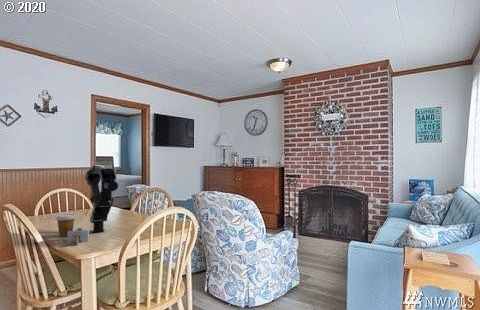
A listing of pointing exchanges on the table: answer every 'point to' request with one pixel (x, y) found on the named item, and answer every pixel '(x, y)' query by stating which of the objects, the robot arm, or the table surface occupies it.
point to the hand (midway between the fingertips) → (106, 215)
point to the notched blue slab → (81, 233)
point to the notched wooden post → (76, 237)
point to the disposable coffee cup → (65, 224)
